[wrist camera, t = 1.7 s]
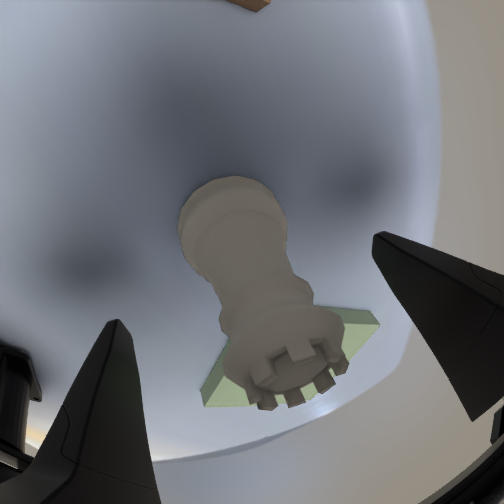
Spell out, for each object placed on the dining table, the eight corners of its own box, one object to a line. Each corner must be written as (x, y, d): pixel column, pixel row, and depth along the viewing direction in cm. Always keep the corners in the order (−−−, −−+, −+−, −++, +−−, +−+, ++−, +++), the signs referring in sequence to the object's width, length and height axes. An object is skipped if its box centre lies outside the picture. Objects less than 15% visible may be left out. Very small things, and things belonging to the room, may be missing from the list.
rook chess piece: (294, 219, 13) (397, 354, 7) (223, 278, 14) (275, 431, 8) (235, 149, 11) (347, 281, 4) (154, 223, 11) (161, 406, 5)
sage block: (302, 382, 25) (310, 400, 23) (199, 385, 20) (203, 407, 19) (366, 306, 20) (380, 324, 19) (249, 291, 16) (259, 317, 14)
